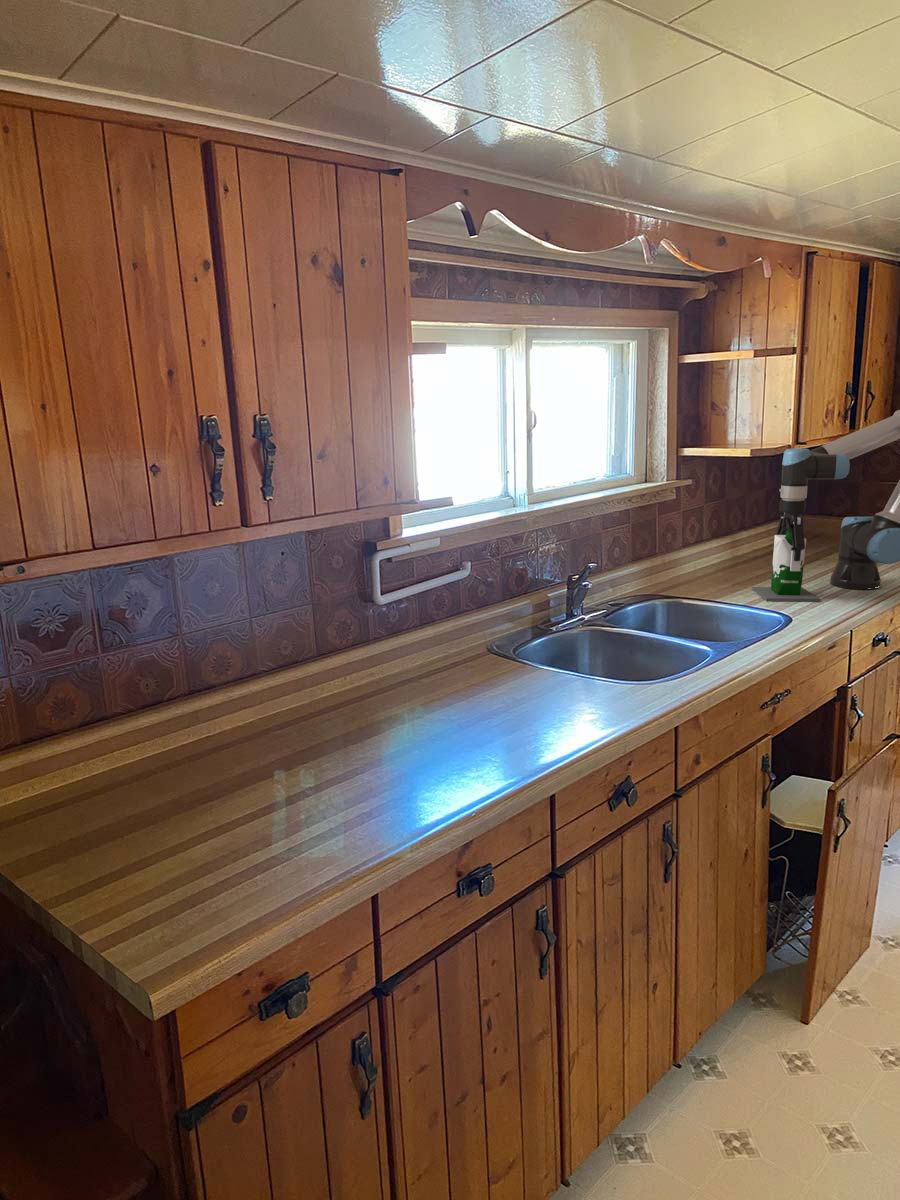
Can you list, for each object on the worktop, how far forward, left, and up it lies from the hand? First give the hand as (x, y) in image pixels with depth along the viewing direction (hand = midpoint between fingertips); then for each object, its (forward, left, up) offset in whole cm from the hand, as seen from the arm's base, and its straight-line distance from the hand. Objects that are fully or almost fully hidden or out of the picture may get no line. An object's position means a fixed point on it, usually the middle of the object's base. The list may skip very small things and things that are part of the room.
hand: (787, 566), depth 264 cm
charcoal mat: (0, 0, -9) cm, 9 cm away
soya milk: (0, 0, -9) cm, 9 cm away
